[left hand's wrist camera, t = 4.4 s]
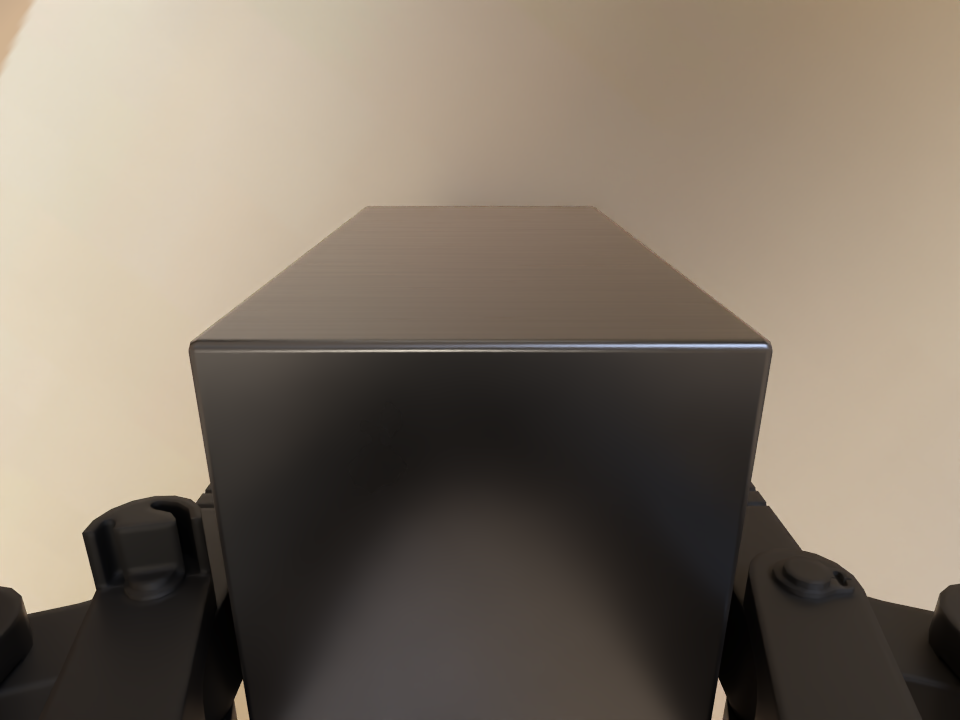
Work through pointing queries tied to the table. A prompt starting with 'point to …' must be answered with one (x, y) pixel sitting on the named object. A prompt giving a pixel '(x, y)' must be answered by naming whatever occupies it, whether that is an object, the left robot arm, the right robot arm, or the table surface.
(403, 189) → the table surface
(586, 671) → the bar
